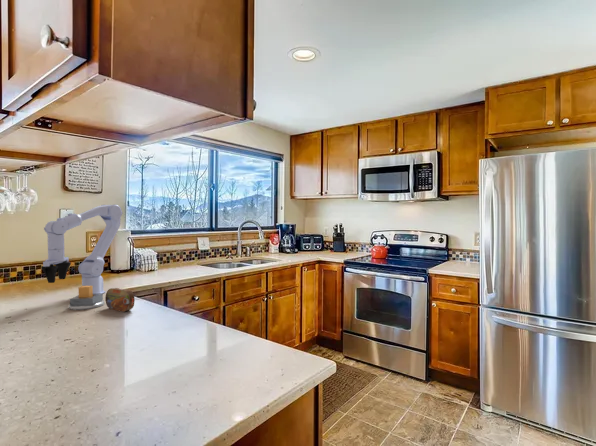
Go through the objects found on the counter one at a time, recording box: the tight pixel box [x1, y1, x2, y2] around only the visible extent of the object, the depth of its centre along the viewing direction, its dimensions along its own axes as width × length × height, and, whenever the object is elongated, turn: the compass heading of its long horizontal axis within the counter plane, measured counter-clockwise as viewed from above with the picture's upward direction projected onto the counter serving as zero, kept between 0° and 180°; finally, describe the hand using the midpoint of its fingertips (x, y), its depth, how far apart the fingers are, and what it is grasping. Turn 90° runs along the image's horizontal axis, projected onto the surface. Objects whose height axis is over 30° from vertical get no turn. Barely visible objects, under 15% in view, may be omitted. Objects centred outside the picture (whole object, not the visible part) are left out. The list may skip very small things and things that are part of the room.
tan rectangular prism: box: [78, 285, 93, 298], centre depth 138 cm, size 3×4×7 cm
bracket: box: [68, 293, 105, 311], centre depth 138 cm, size 12×12×4 cm
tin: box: [104, 287, 136, 313], centre depth 132 cm, size 15×3×8 cm, turn 62°
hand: (57, 280), depth 143 cm, fingers open, 7 cm apart
